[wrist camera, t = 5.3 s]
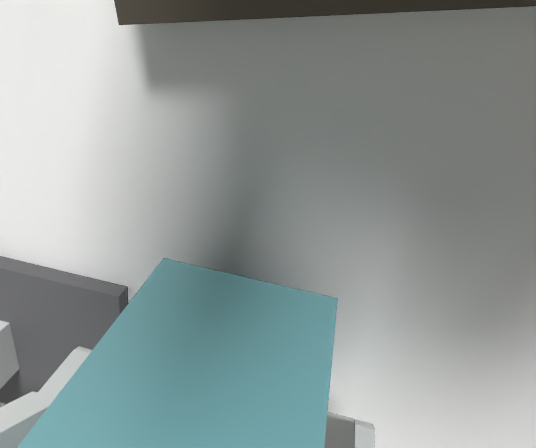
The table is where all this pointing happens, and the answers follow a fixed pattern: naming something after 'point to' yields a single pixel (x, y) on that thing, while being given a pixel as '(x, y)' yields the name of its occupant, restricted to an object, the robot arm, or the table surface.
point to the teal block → (201, 369)
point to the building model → (283, 8)
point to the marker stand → (48, 321)
